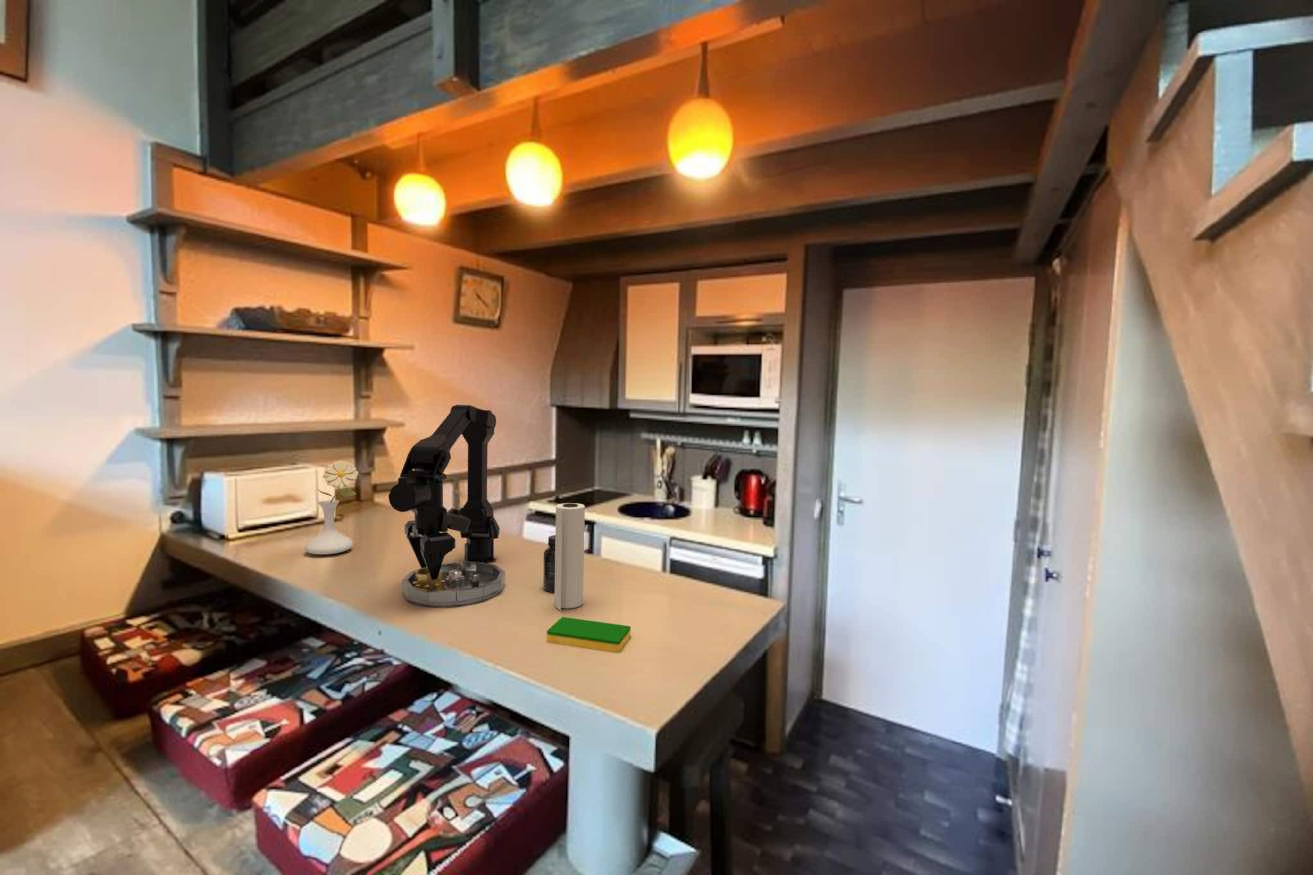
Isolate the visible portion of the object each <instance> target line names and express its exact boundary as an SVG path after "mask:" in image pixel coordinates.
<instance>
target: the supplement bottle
mask: <svg viewBox="0 0 1313 875" xmlns="http://www.w3.org/2000/svg"><path fill="white" fill-rule="evenodd" d="M555 538H556V534H553V535H550V536H548V538H547V539H548V540H547V541H548V542H547V546H548V547H547V548H545V550H544V552H543V574H542V576H543V578H542V579H543V582H542V583H543V589H544V591H546V592H548V593H554V594H555Z"/></svg>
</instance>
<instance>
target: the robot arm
mask: <svg viewBox="0 0 1313 875" xmlns="http://www.w3.org/2000/svg"><path fill="white" fill-rule="evenodd" d="M496 426H497V417H496V415H495V414H494V413H493V412H492V410H490V409H482V408H477V407H476V406H474V405H472V404H455V405H452V406H451V408H450V412H449V413H448V415H447V416H445V418H444V419H443V421H441V423H440V424H439V425H438V427H437V428H436V429H435V430H434V432H433V433H432V434H431V435H430V436H428V437H425V438H422V439H420V440H419V441H417V442H416V443H415V444H413V446H412V447H411V448H410V450H409V451H408V454H407V457H406V459H405V462H404V464H403V467H402V469H401V472H400V475H399V477H398V478H397V484H395V485H393V486H392V488H391V489H390V491H389V493H388V502H389V504H390V506H391V508H393V509H394V510H395V511H397V512H399V513H405V512H409V511H412V512H413V513H414V519H413V520H408V521H407V522H406V524H404V534H405V535H406V539H407V540H408V543H409V545H410V547H411V549H412V551H413V553H414V555H415V558H416V560H417V562H418V564H419V567H420V569H421V568H426V567H427V569H428V571H429V574H430V576H431V579H432V580H435V579H438V575H439V572H440V569H441V565H442V564H443V562H444V559H445V556H446V555H447V554H448V553H451V552H453V550H454V549H456V538H455V537H453V536H452V535H451V534H450V533H448V531H449V530H451V531H452V530H453V531H455V532H459V533H460V538H461V539H466V542H465V543H464V560H465V561H466V562H482V563H491V562H496V561H497V558H495V557H494V554H495V552H494V551H495V545H494V544H495V543H494V542H495V539H496V540H497V539H499V535H500V530H501V529H500V528H501V527H500V526H499V524H498V522H497V520H496V518H495V516H494V508H493V507H492V505H491V503H490V502H489V500H488V444H489V443H490V441H491V440H492V438H493V436H494V435H495V429H496ZM461 435H462V437H463V438H464V440H465V442H466V444H467V493H466V494H467V500H466V502H465V504H463V506H462V507H460V508H459V509H457V508H454V507H451V508H449V509H447V507H445V506H444V480H447V478H448V476H447V475H446V473H444V472H445V470H446V469H447V466H448V465H449V463H450V460H451V458H452V455H451V450H452V447H453V446H454V445H455V444H456V442H457V441H458V439H459V438H460V436H461Z"/></svg>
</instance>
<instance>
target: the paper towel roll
mask: <svg viewBox="0 0 1313 875" xmlns="http://www.w3.org/2000/svg"><path fill="white" fill-rule="evenodd" d="M585 508H586V506H585V505H584V504H582V503H577V502H576V503H574V502H573V503H572V502H567V503H566V502H565V503H564V502H563V503H559V504H556V505H555V535H556V538H555V593H554V606H555V608H556V609H558V610H559V612H560V613H561V612H562V609H576V608H578V607H581V606H582V604H584V571H585V570H584V564H585V561H584V560H585V557H584V556H585V522H586V520H585V517H586V515H585V514H586V512H585V511H586V509H585Z"/></svg>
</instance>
